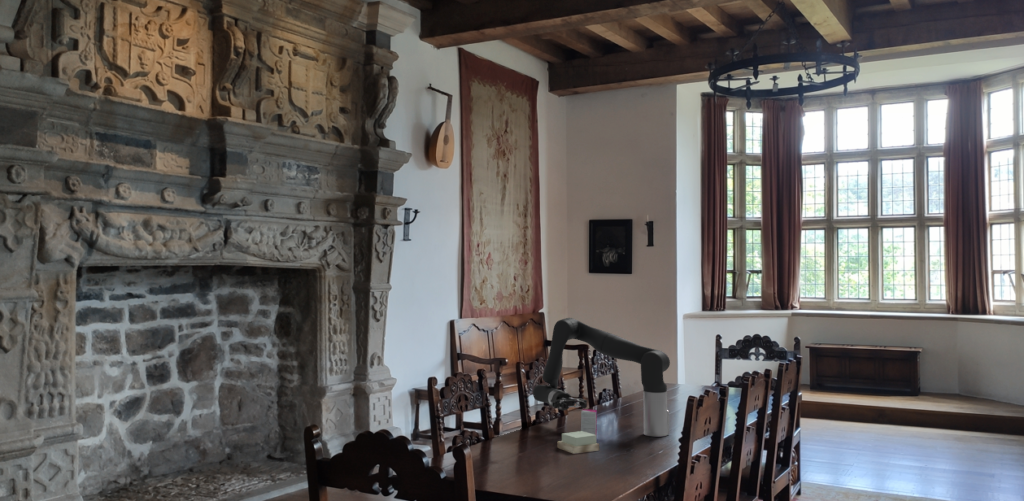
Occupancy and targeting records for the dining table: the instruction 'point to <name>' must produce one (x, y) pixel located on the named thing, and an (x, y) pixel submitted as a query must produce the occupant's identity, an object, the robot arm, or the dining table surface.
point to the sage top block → (579, 438)
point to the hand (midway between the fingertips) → (575, 406)
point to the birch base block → (577, 447)
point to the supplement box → (589, 421)
